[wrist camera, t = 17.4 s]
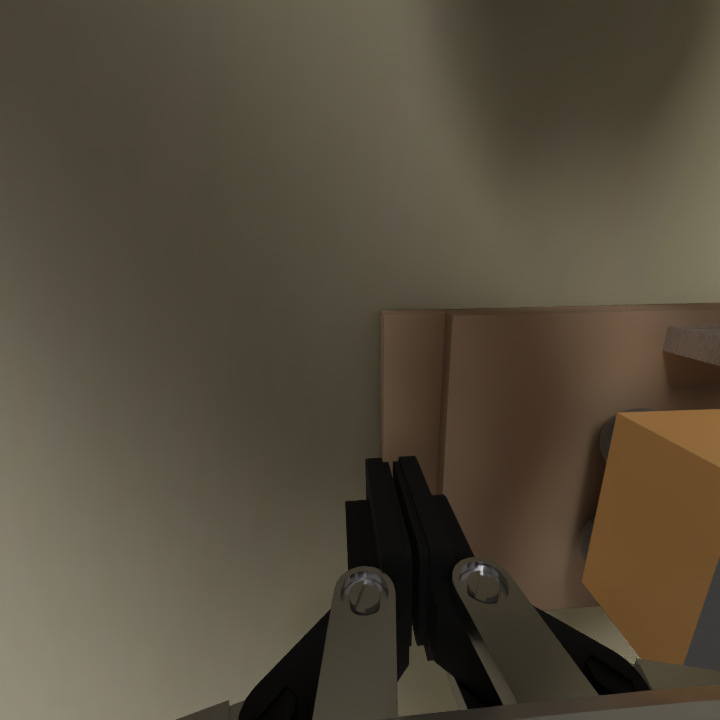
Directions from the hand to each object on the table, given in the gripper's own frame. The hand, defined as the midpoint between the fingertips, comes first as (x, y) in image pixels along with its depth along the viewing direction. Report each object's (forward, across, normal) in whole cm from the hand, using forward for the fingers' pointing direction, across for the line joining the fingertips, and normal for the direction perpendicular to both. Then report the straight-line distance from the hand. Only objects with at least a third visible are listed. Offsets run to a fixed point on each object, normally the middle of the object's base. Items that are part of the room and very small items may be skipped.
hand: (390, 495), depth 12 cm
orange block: (0, -12, 0) cm, 12 cm away
